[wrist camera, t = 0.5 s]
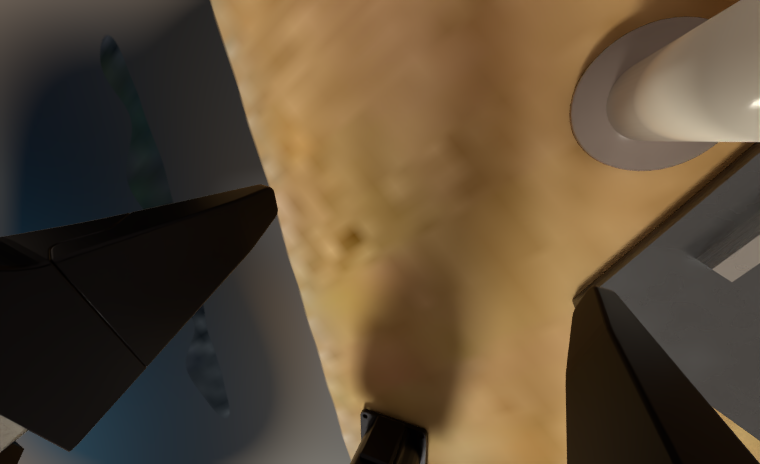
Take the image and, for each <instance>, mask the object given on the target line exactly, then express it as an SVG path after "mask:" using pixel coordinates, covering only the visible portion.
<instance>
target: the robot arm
mask: <svg viewBox="0 0 760 464" xmlns="http://www.w3.org/2000/svg"><path fill="white" fill-rule="evenodd" d="M277 212H278V208H277V203H276V198H275V194H274V190H273V189H272V188H271V187H268V186H265V185H261V184H260V185H254V186H250V187H245V188H241V189H236V190H231V191H227V192H222V193H218V194H213V195H208V196H204V197H199V198H195V199H190V200H186V201H181V202H176V203H172V204H167V205H163V206H158V207H154V208H149V209H144V210H140V211H135V212H132V213H127V214H121V215H117V216H112V217H107V218H102V219H98V220H93V221H88V222H83V223H77V224H73V225H67V226H61V227H55V228H50V229H44V230H38V231H33V232H27V233H21V234H16V235H10V236H5V237H0V464H18V461H19V459H20V457H21V455H22V452H23V450H24V448H22V446H20V445H19V444H18V443H17V442H16V440H17V439H18V438H19V437H21V436H22V435H23V434H24V433H25V432H27V431H28V430H29V431H31V432H33V433H35V434H37V435H38V436H40V437H42V438H44V439H46V440H48V441H50V442H52V443H53V444H56V445H57V446H59V447H61V448H63V449H65V450H66V451H68V452H69V451H71V450H72V449H73V448H74V447H75V446H77V444H78V443H79V442H80V441H81V440H82V439H83V438H84V437H85V436H86V435H87V434H88V432H89V431H90V430H91V429H92V428H93V427H94V426H95V425H96V423H97V422H98V421H99V420H100V419H101V418H102V417H103V415H105V413H106V412H107V411H108V410H109V409H110V408H111V407H112V406H113V405H114V403H115V402H116V401H117V400H118V399H119V398H120V397H121V396H122V394H123V393H124V392H125V391H126V390H127V389H128V388H129V387H130V386H131V384H132V383H133V382H134V381H135V380H136V379H137V378H138V377H139V376H140V374H141V373H142V372H143V371H144V370H145V369H146V366H148V365H149V364H150V363H151V362H152V360H153V359H154V358H155V357H156V356H157V355H158V354H159V352H161V351H162V349H163V348H164V347H165V346H166V345H167V344H168V343H169V342H170V340H171V339H172V338H173V337H174V336H175V335H176V334H177V333H178V332H179V331H180V329H181V328H182V327H183V326H184V325H185V324H186V323H187V322H188V320H189V319H190V318H191V317H192V316H193V315H194V314H195V313H196V312H197V310H198V309H199V308H200V307H201V306H202V305H203V304H204V303H205V301H206V300H207V299H208V298H209V297H210V296H211V295H212V294H213V293H214V291H215V290H216V289H217V288H218V287H219V286H220V285H221V284H222V283H223V281H224V280H225V279H226V278H227V277H228V276H229V275H230V274H231V273H232V271H233V270H234V269H235V268H236V267H237V266H238V265H239V264H240V262H241V261H242V260H243V259H244V258H245V257H246V256H247V255H248V253H249V252H250V251H251V250H252V248H253V247H254V246H255V244H256V243H257V242H258V240H259V239H260V237H261V236H262V235H263V233H264V232H265V231H266V229H267V228H268V227H269V225H270V224H271V222H272V221H273V220H274V218H275V217H276V215H277ZM566 429H567V464H760V463H759V462H758V461H757V460H756V459H755V457H754V456H753V455H752V454H751V453H750V451H749V450H748V449H747V448H746V447H745V445H744V444H743V443H742V442H741V441H740V440H739V438H738V437H737V436H736V435H735V434H734V432H733V431H732V430H731V429H730V428H729V427H728V425H727V424H726V423H725V422H724V421H723V419H722V418H721V417H720V416H719V415H718V413H717V412H716V411H715V410H714V409H713V408H712V406H711V405H710V404H709V403H708V402H707V400H706V399H705V398H704V397H703V396H702V395H701V393H700V392H699V391H698V390H697V389H696V387H695V386H694V385H693V384H692V383H691V381H690V380H689V379H688V378H687V377H686V376H685V374H684V373H683V372H682V371H681V370H680V368H679V367H678V366H677V365H676V364H675V363H674V361H673V360H672V359H671V358H670V357H669V355H668V354H667V353H666V352H665V351H664V349H663V348H662V347H661V346H660V345H659V344H658V342H657V341H656V340H655V339H654V338H653V336H652V335H651V334H650V333H649V332H648V331H647V329H646V328H645V327H644V326H643V325H642V323H641V322H640V321H639V320H638V319H637V317H636V316H635V315H634V314H633V313H632V312H631V310H630V309H629V308H628V307H627V306H626V304H625V303H624V302H623V301H622V300H621V299H620V297H619V296H618V295H617V294H616V293H615V292H614V291H612V290H609V289H606V288H603V287H599V286H591V287H590V288H589V289H588V290H587V292H586V293H585V295H584V296H583V297H582V299H581V300H580V302H579V303H578V304H577V306H576V308H575V310H574V312H573V317H572V325H571V333H570V342H569V350H568V358H567V368H566ZM426 453H427V432H426V430H425V429H423V428H420V427H417V426H415V425H412V424H409V423H406V422H403V421H400V420H397V419H394V418H391V417H388V416H386V415H383V414H380V413H377V412H374V411H371V410H368V409H363V410H362V412H361V443H360V445H359V447H358V449H357V451H356V453H355V455H354V457H353V459H352V461H351V463H350V464H426Z"/></svg>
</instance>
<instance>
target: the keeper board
mask: <svg viewBox="0 0 760 464" xmlns="http://www.w3.org/2000/svg"><path fill="white" fill-rule="evenodd" d="M591 286H599V287H603V288H606V289H609V290H612V291H614V292H615V293H616V294H617V295H618V296H619V297H620V299H621V300H622V301H623V302H624V303H625V304H626V306H627V307H628V308H629V309H630V310H631V312H632V313H633V314H634V315H635V316H636V317H637V319H638V320H639V321H640V322H641V323H642V325H643V326H644V327H645V328H646V329H647V331H648V332H649V333H650V334H651V335H652V336H653V338H654V339H655V340H656V341H657V342H658V344H659V345H660V346H661V347H662V348H663V349H664V351H665V352H666V353H667V354H668V355H669V357H670V358H671V359H672V360H673V361H674V363H675V364H676V365H677V366H678V367H679V368H680V370H681V371H682V372H683V373H684V374H685V376H686V377H687V378H688V379H689V380H690V381H691V383H692V384H693V385H694V386H695V387H696V389H697V390H698V391H699V392H700V393H701V395H702V396H703V397H704V398H705V399H706V400H707V402H708V403H709V404H710V405H711V406H712V407H714V408H715V409H716V410H718V411H719V412H721V413H722V414H723V415H725V416H726V417H727V418H729V419H730V420H732V421H733V422H734V423H736V424H737V425H739V426H740V427H741V428H743V429H744V430H746V431H747V432H748V433H750V434H751V435H753V436H754V437H755V438H757V439H758V440H759V441H760V142H756V143H755V144H754V145H752V146H751V147H750V148H749V149H748V150H747V151H745V152H744V153H743V154H742V155H741V156H740V157H738V158H737V159H736V160H735V161H734V162H733V163H731V164H730V165H729V166H728V167H727V168H726V169H724V170H723V171H722V172H721V173H720V174H719V175H717V176H716V177H715V178H714V179H713V180H712V181H710V182H709V183H708V184H707V185H706V186H705V187H703V188H702V189H701V190H700V191H699V192H698V193H696V194H695V195H694V196H693V197H692V198H691V199H690V200H688V201H687V202H686V203H685V204H684V205H683V206H681V207H680V208H679V209H678V210H677V211H676V212H674V213H673V214H672V215H671V216H670V217H669V218H667V219H666V220H665V221H664V222H663V223H662V224H660V225H659V226H658V227H657V228H656V229H655V230H653V231H652V232H651V233H650V234H649V235H648V236H646V237H645V238H644V239H643V240H642V241H641V242H639V243H638V244H637V245H636V246H635V247H634V248H632V249H631V250H630V251H629V252H628V253H627V254H625V255H624V256H623V257H622V258H621V259H620V260H618V261H617V262H616V263H615V264H614V265H613V266H611V267H610V268H609V269H608V270H607V271H606V272H604V273H603V274H602V275H601V276H600V277H599V278H597V279H596V280H595V281H594V282H593V283H592V284H591V285H589V286H588V287H587V288H586V289H585V290H584V291H582V292H581V293H580V294H579V295H578V296H577V297H575V298H574V299H573V300H572V301H573V304H574V307H575V308H576V306H577V304H578V303H579V302H580V300H581V299H582V297H583V296H584V295H585V293H586V292H587V290H588V289H589V288H590V287H591Z"/></svg>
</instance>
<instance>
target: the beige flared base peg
mask: <svg viewBox="0 0 760 464" xmlns="http://www.w3.org/2000/svg"><path fill="white" fill-rule="evenodd" d="M569 115H570V125H571V129H572V132H573V135H574V137H575V139H576V141H577V143H578V144H579V146H580V147H581V148H582V149H583V150H584V151H585V152H586V153H587V154H588V155H589V156H591V157H592V158H594V159H595V160H597V161H599V162H601V163H603V164H605V165H609V166H612V167H615V168H619V169H625V170H632V171H651V170H658V169H663V168H668V167H672V166H675V165H678V164H681V163H684V162H686V161H688V160H690V159H693V158H695V157H697V156H698V155H700V154H702V153H704V152H705V151H707V150H708V149H710V148H711V147H713V146H714V145H715V144H717V143H718V142H760V0H740V1H738V2H737V3H735V4H733V5H732V6H730V7H729V8H727V9H725V10H724V11H722V12H720V13H719V14H717V15H715V16H714V17H712V18H710V19H705V18H700V17H674V18H669V19H663V20H659V21H656V22H652V23H649V24H646V25H644V26H641V27H639V28H637V29H635V30H633V31H631V32H629V33H627V34H625V35H624V36H622V37H621V38H619V39H618V40H616V41H615V42H614V43H612V44H611V45H610V46H609V47H607V48H606V49H605V50H604V51H603V52H602V53H601V54H600V55H599V56H598V57H597V58H596V59H595V60H594V61H593V62H592V63H591V64H590V65H589V67H588V68H587V69H586V70H585V72H584V73H583V75H582V76H581V78H580V79H579V81H578V83H577V85H576V87H575V90H574V93H573V96H572V99H571V104H570V113H569Z"/></svg>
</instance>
